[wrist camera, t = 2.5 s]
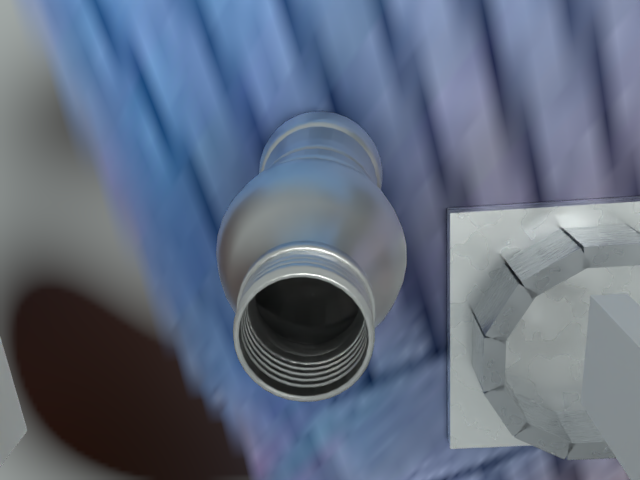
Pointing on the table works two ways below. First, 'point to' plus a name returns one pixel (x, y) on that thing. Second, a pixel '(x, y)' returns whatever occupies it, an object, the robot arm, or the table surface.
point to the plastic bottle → (311, 258)
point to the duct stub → (531, 318)
